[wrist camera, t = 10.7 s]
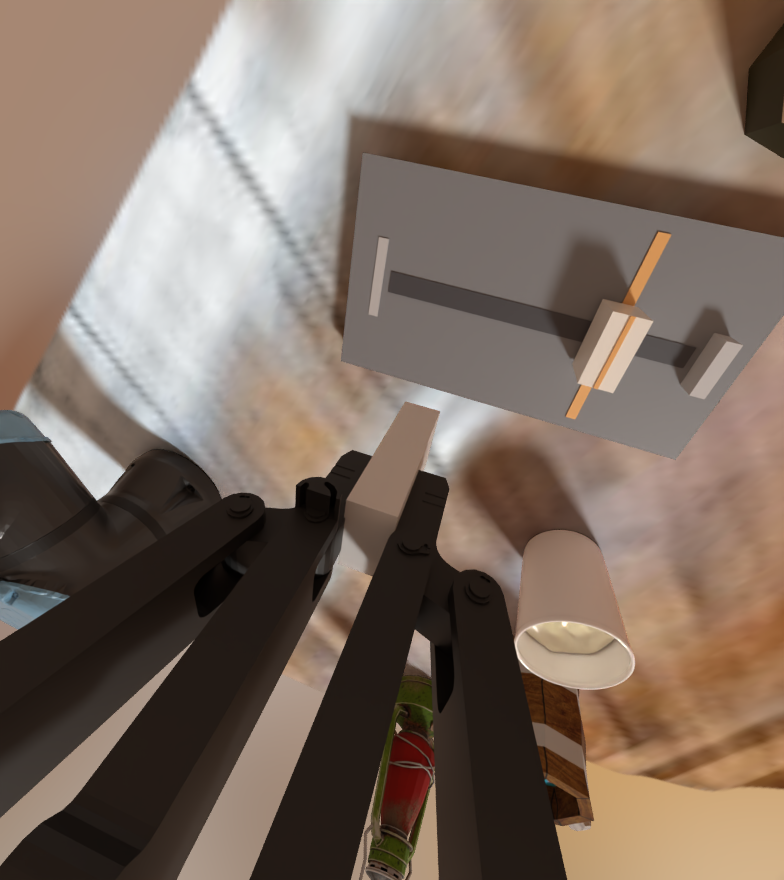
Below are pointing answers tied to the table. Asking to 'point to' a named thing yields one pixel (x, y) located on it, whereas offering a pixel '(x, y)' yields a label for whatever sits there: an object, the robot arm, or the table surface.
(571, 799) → the mug
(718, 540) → the table surface
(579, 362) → the fader
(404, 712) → the lantern
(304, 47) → the table surface
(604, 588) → the candle holder
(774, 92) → the wine bottle
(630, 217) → the panel
